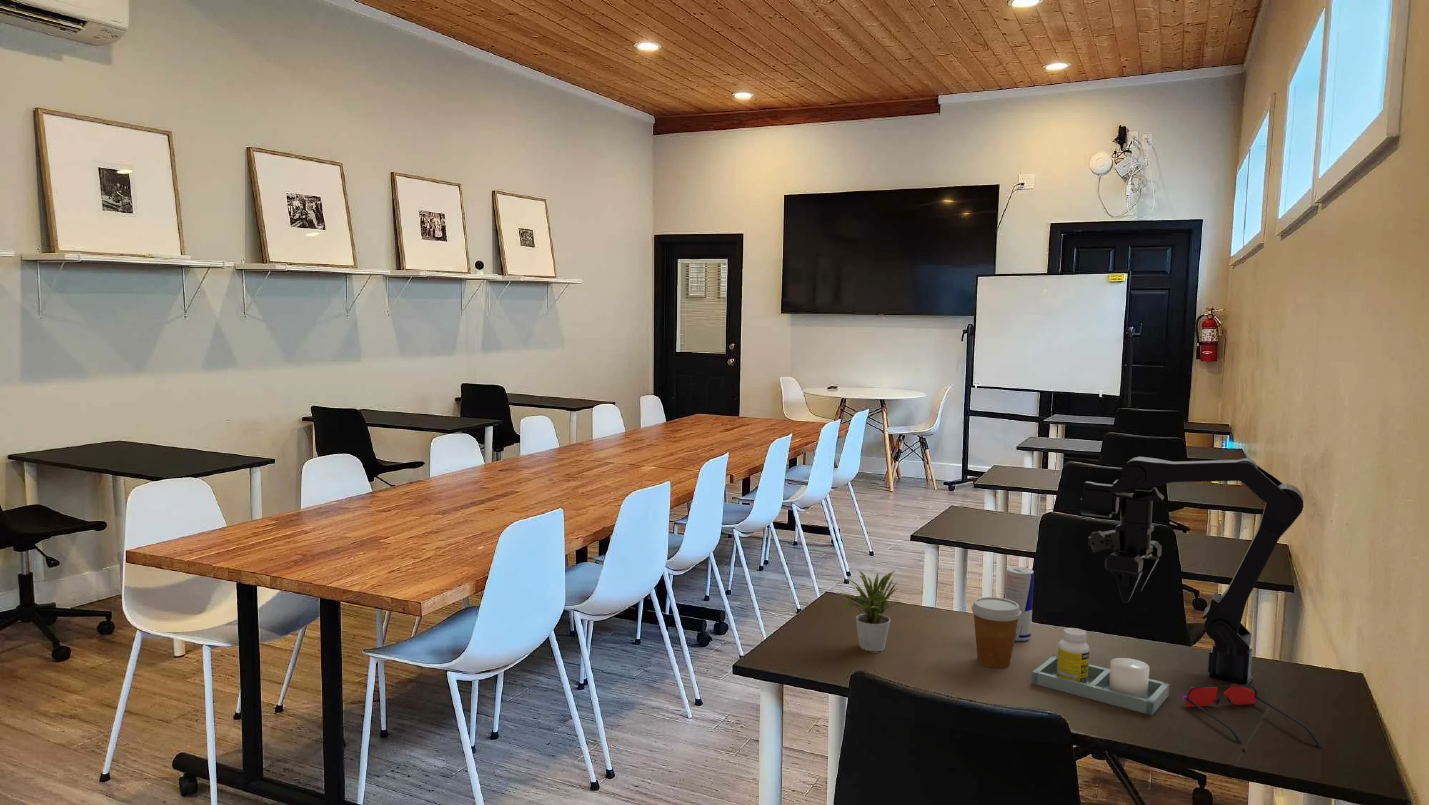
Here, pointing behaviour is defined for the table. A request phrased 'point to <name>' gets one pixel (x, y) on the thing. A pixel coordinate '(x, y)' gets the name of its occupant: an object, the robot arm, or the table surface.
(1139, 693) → the white pillar candle
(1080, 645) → the supplement bottle
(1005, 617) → the disposable coffee cup
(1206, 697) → the glasses
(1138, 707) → the tray
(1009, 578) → the beverage can
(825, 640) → the table surface
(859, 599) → the house plant
